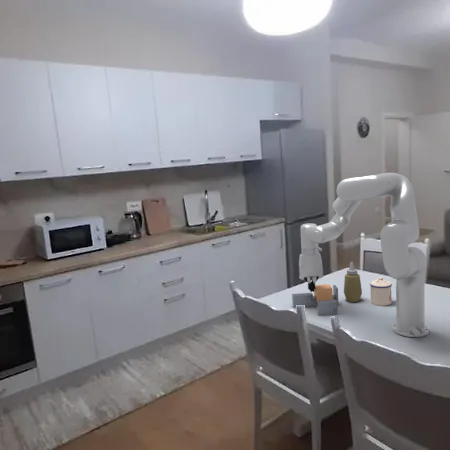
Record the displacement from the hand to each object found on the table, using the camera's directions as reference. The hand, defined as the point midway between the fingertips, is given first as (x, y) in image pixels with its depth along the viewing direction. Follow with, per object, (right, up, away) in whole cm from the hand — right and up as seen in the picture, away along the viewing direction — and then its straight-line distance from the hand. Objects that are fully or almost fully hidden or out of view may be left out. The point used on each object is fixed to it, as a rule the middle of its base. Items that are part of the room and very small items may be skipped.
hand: (311, 290), depth 187 cm
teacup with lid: (+31, -5, -1) cm, 31 cm away
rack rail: (+2, -6, +3) cm, 7 cm away
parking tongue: (+4, -8, -10) cm, 14 cm away
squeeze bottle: (+20, -5, +3) cm, 21 cm away
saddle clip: (+6, -5, +1) cm, 8 cm away
